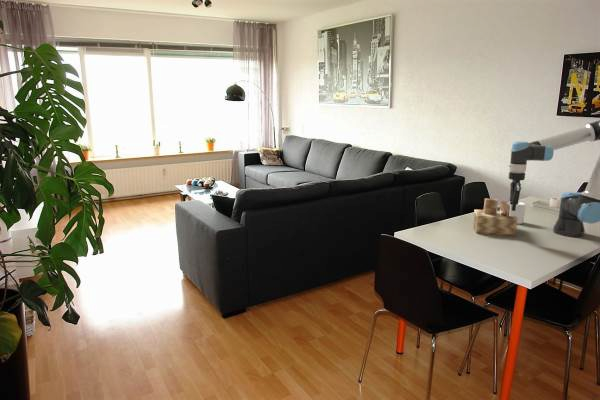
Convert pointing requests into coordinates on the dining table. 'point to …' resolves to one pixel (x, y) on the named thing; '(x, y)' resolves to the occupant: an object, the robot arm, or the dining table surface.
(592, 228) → the dining table surface
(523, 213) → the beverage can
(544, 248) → the dining table surface
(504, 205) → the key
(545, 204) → the dining table surface
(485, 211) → the lid
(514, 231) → the wicker basket
